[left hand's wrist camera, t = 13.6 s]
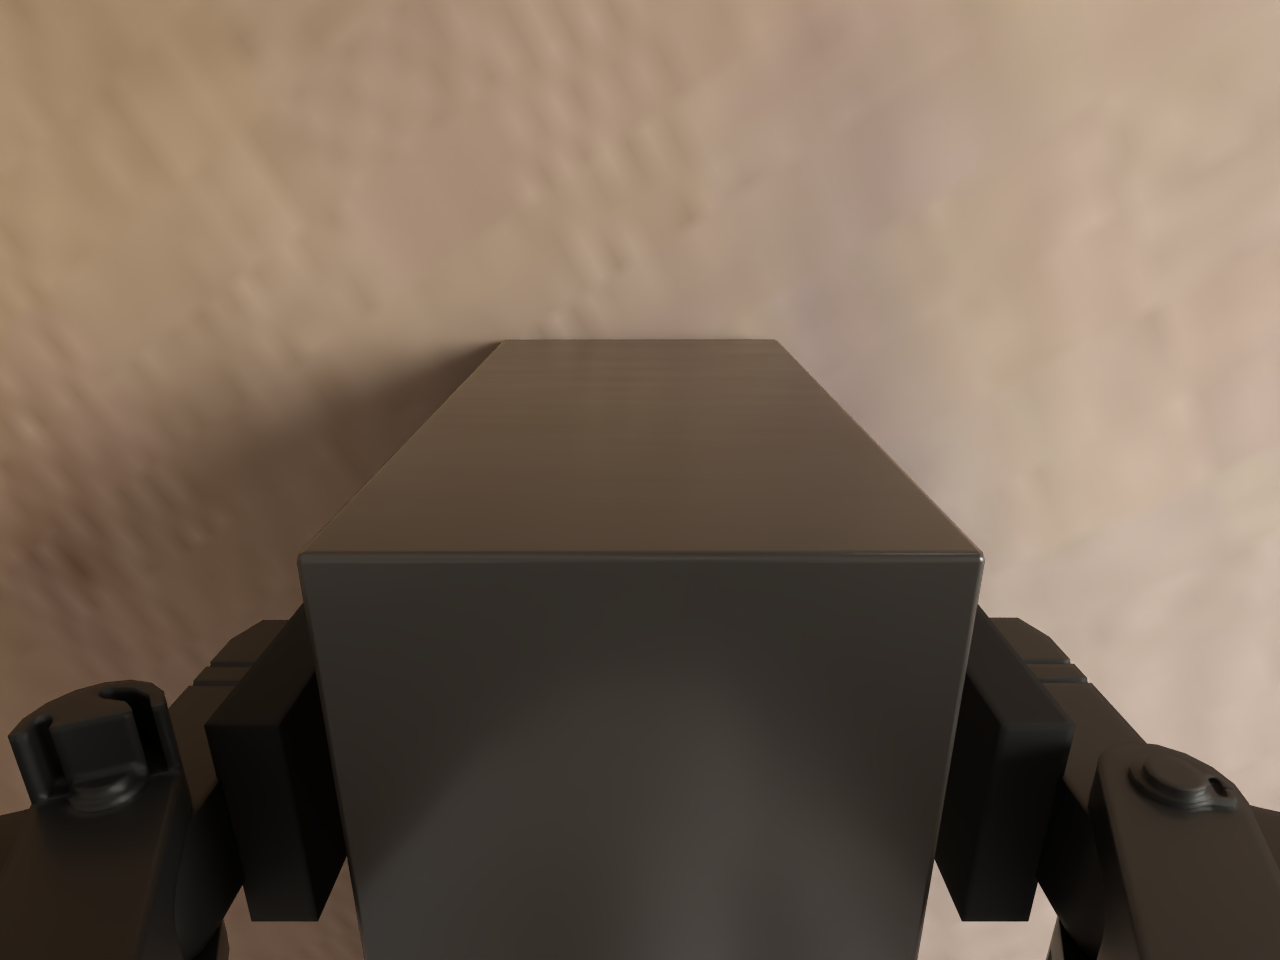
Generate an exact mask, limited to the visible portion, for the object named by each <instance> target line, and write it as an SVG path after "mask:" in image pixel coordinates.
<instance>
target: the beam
mask: <svg viewBox="0 0 1280 960" xmlns="http://www.w3.org/2000/svg"><path fill="white" fill-rule="evenodd" d="M297 566H298V572H299V578H300V583H301V589H302V595H303V601H304V607H305V613H306V619H307V624H308V630H309V636H310V642H311V648H312V654H313V660H314V666H315V671H316V677H317V683H318V689H319V695H320V701H321V707H322V712H323V718H324V724H325V730H326V736H327V742H328V748H329V754H330V759H331V765H332V771H333V777H334V783H335V789H336V795H337V800H338V806H339V812H340V818H341V824H342V830H343V836H344V842H345V847H346V853H347V859H348V865H349V871H350V877H351V883H352V888H353V894H354V900H355V906H356V912H357V918H358V924H359V930H360V935H361V941H362V947H363V953H364V959H365V960H917V958H918V952H919V946H920V941H921V935H922V929H923V923H924V917H925V911H926V905H927V899H928V893H929V887H930V881H931V875H932V870H933V864H934V858H935V852H936V846H937V840H938V834H939V828H940V822H941V816H942V810H943V804H944V799H945V793H946V787H947V781H948V775H949V769H950V763H951V757H952V751H953V745H954V739H955V734H956V728H957V722H958V716H959V710H960V704H961V698H962V692H963V686H964V680H965V674H966V668H967V663H968V657H969V651H970V645H971V639H972V633H973V627H974V621H975V615H976V609H977V603H978V598H979V592H980V586H981V580H982V574H983V568H984V556H983V552H982V551H981V550H980V549H979V548H978V547H977V546H976V545H975V544H974V543H973V542H972V541H971V540H970V539H969V538H968V537H967V536H966V535H965V534H964V533H963V532H962V531H961V530H960V529H959V528H958V527H957V526H956V524H955V523H954V522H953V521H952V520H951V519H950V518H949V517H948V516H947V515H946V514H945V513H944V512H943V511H942V510H941V509H940V508H939V507H938V506H937V505H936V504H935V503H934V502H933V501H932V500H931V499H930V498H929V497H928V496H927V495H926V494H925V493H924V492H923V490H922V489H921V488H920V487H919V486H918V485H917V484H916V483H915V482H914V481H913V480H912V479H911V478H910V477H909V476H908V475H907V474H906V473H905V472H904V471H903V470H902V469H901V468H900V467H899V466H898V465H897V464H896V463H895V462H894V461H893V460H892V459H891V458H890V456H889V455H888V454H887V453H886V452H885V451H884V450H883V449H882V448H881V447H880V446H879V445H878V444H877V443H876V442H875V441H874V440H873V439H872V438H871V437H870V436H869V435H868V434H867V433H866V432H865V431H864V430H863V429H862V428H861V427H860V426H859V425H858V424H857V423H856V421H855V420H854V419H853V418H852V417H851V416H850V415H849V414H848V413H847V412H846V411H845V410H844V409H843V408H842V407H841V406H840V405H839V404H838V403H837V402H836V401H835V400H834V399H833V398H832V397H831V396H830V395H829V394H828V393H827V392H826V391H825V390H824V389H823V387H822V386H821V385H820V384H819V383H818V382H817V381H816V380H815V379H814V378H813V377H812V376H811V375H810V374H809V373H808V372H807V371H806V370H805V369H804V368H803V367H802V366H801V365H800V364H799V363H798V362H797V361H796V360H795V359H794V358H793V357H792V356H791V355H790V353H789V352H788V351H787V350H786V349H785V348H784V347H783V346H782V345H781V344H780V343H779V342H778V341H776V340H504V341H502V342H501V343H500V344H499V345H498V347H497V348H496V349H495V350H494V351H493V352H492V353H491V354H490V355H489V356H488V357H487V358H486V359H485V360H484V361H483V362H482V363H481V364H480V365H479V366H478V367H477V368H476V369H475V370H474V371H473V373H472V374H471V375H470V376H469V377H468V378H467V379H466V380H465V381H464V382H463V383H462V384H461V385H460V386H459V387H458V388H457V389H456V390H455V391H454V392H453V393H452V394H451V395H450V396H449V398H448V399H447V400H446V401H445V402H444V403H443V404H442V405H441V406H440V407H439V408H438V409H437V410H436V411H435V412H434V413H433V414H432V415H431V416H430V417H429V418H428V419H427V420H426V421H425V422H424V424H423V425H422V426H421V427H420V428H419V429H418V430H417V431H416V432H415V433H414V434H413V435H412V436H411V437H410V438H409V439H408V440H407V441H406V442H405V443H404V444H403V445H402V446H401V447H400V448H399V450H398V451H397V452H396V453H395V454H394V455H393V456H392V457H391V458H390V459H389V460H388V461H387V462H386V463H385V464H384V465H383V466H382V467H381V468H380V469H379V470H378V471H377V472H376V473H375V474H374V476H373V477H372V478H371V479H370V480H369V481H368V482H367V483H366V484H365V485H364V486H363V487H362V488H361V489H360V490H359V491H358V492H357V493H356V494H355V495H354V496H353V497H352V498H351V499H350V501H349V502H348V503H347V504H346V505H345V506H344V507H343V508H342V509H341V510H340V511H339V512H338V513H337V514H336V515H335V516H334V517H333V518H332V519H331V520H330V521H329V522H328V523H327V524H326V525H325V527H324V528H323V529H322V530H321V531H320V532H319V533H318V534H317V535H316V536H315V537H314V538H313V539H312V540H311V541H310V542H309V543H308V544H307V545H306V546H305V547H304V548H303V549H302V550H301V551H300V553H299V554H298V558H297Z"/></svg>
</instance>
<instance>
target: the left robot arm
mask: <svg viewBox="0 0 1280 960" xmlns="http://www.w3.org/2000/svg"><path fill="white" fill-rule="evenodd" d="M8 738H9V741H10V744H11V747H12V750H13V752H14V755H15V758H16V761H17V764H18V766H19V769H20V772H21V775H22V778H23V780H24V783H25V786H26V789H27V792H28V794H29V797H30V800H31V803H32V804H31V807H30V809H27V810H23V811H19V812H14V813H10V814H5V815H0V960H228V958H229V943H228V937H227V931H226V928H225V924H224V920H223V918H224V916H225V914H226V913H227V911H228V909H229V907H230V906H231V904H232V902H233V900H234V899H235V897H236V895H237V893H238V892H239V890H240V888H241V886H242V885H243V888H244V892H245V896H246V900H247V904H248V908H249V912H250V916H251V920H252V921H318V920H319V918H320V916H321V913H322V911H323V909H324V907H325V904H326V902H327V900H328V897H329V895H330V893H331V891H332V888H333V886H334V884H335V881H336V879H337V877H338V875H339V872H340V870H341V868H342V866H343V863H344V861H345V859H346V856H347V853H346V847H345V842H344V836H343V830H342V824H341V818H340V812H339V806H338V800H337V795H336V789H335V783H334V777H333V771H332V765H331V759H330V754H329V748H328V742H327V736H326V730H325V724H324V718H323V712H322V707H321V701H320V695H319V689H318V683H317V677H316V671H315V666H314V660H313V654H312V648H311V642H310V636H309V630H308V624H307V619H306V613H305V607H304V602H303V604H302V605H301V606H300V607H299V609H298V610H297V611H296V612H295V614H294V615H293V616H292V617H291V618H290V620H262V621H261V622H259V623H257V624H256V625H254V626H252V627H251V628H249V629H247V630H246V631H244V632H243V633H241V634H239V635H238V636H236V637H234V638H233V639H231V640H230V641H229V642H228V643H227V645H226V646H225V647H224V648H223V649H222V650H221V651H220V652H219V653H218V654H217V656H216V657H215V658H214V659H213V660H212V661H211V665H210V667H206V668H205V669H204V670H203V671H202V672H201V673H200V674H199V675H198V677H197V678H196V679H195V680H194V683H193V686H188V688H187V689H186V690H185V691H184V692H183V693H182V694H181V695H180V696H179V698H178V699H177V700H176V701H175V702H174V703H173V704H172V705H171V706H170V707H169V709H168V706H167V702H166V699H165V695H164V691H162V690H161V689H160V688H158V687H157V686H155V685H154V684H152V683H149V682H142V681H135V680H125V681H114V682H104V683H101V684H97V685H93V686H90V687H86V688H82V689H79V690H75V691H73V692H71V693H68V694H66V695H64V696H62V697H59V698H57V699H55V700H53V701H50V702H48V703H46V704H45V705H43V706H42V707H40V708H39V709H37V710H36V711H34V712H33V713H31V714H30V715H28V716H27V717H25V718H24V719H22V720H21V722H20V723H19V724H18V725H17V726H16V727H15V728H14V730H13V731H12V732H11V733H10V734H9V735H8ZM934 859H935V861H936V863H937V866H938V868H939V870H940V872H941V875H942V877H943V879H944V881H945V884H946V886H947V888H948V891H949V893H950V895H951V897H952V900H953V902H954V904H955V907H956V909H957V911H958V913H959V916H960V918H961V920H962V921H1028V920H1029V916H1030V912H1031V908H1032V904H1033V900H1034V896H1035V892H1036V888H1037V884H1038V883H1039V884H1040V886H1041V888H1042V889H1043V891H1044V893H1045V895H1046V896H1047V898H1048V900H1049V902H1050V903H1051V905H1052V907H1053V909H1054V910H1055V912H1056V914H1057V920H1056V924H1055V928H1054V931H1053V935H1052V939H1051V943H1050V947H1049V950H1048V954H1047V958H1046V960H1280V812H1277V811H1272V810H1268V809H1263V808H1258V807H1255V806H1251V805H1249V803H1248V802H1247V800H1246V799H1245V798H1244V796H1243V795H1242V794H1241V792H1240V791H1239V790H1238V788H1237V787H1236V785H1235V784H1233V783H1232V782H1231V781H1230V780H1228V779H1227V778H1226V777H1224V776H1223V775H1222V774H1221V773H1219V772H1218V771H1217V770H1215V769H1214V768H1213V767H1211V766H1209V765H1207V764H1205V763H1203V762H1201V761H1199V760H1197V759H1195V758H1193V757H1191V756H1189V755H1187V754H1185V753H1182V752H1179V751H1176V750H1173V749H1169V748H1166V747H1163V746H1160V745H1155V744H1147V743H1146V742H1145V741H1144V740H1143V739H1142V738H1141V737H1140V736H1139V735H1138V733H1137V732H1136V731H1135V730H1134V729H1133V728H1132V727H1131V726H1130V725H1129V724H1128V722H1127V721H1126V720H1125V719H1124V718H1123V717H1122V716H1121V715H1120V714H1119V713H1118V712H1117V710H1116V709H1115V708H1114V707H1113V706H1112V705H1111V704H1110V703H1109V702H1108V701H1107V699H1106V698H1105V697H1104V696H1103V695H1102V694H1101V693H1100V692H1099V691H1098V690H1097V688H1096V687H1095V686H1094V685H1093V684H1092V683H1088V682H1087V678H1086V676H1085V675H1084V674H1083V673H1082V672H1081V671H1080V670H1079V669H1078V668H1077V667H1076V665H1075V664H1070V659H1069V658H1068V657H1067V656H1066V655H1065V653H1064V652H1063V651H1062V650H1061V649H1060V648H1059V647H1058V646H1057V645H1056V644H1055V642H1054V641H1053V640H1052V639H1051V638H1050V637H1049V636H1047V635H1045V634H1044V633H1042V632H1040V631H1039V630H1037V629H1036V628H1034V627H1032V626H1031V625H1029V624H1027V623H1026V622H1024V621H1022V620H1021V619H1019V618H989V617H988V616H987V615H986V614H985V612H984V611H983V610H982V609H981V607H980V606H979V605H978V604H977V609H976V615H975V621H974V627H973V633H972V639H971V645H970V651H969V657H968V663H967V668H966V674H965V680H964V686H963V692H962V698H961V704H960V710H959V716H958V722H957V728H956V734H955V739H954V745H953V751H952V757H951V763H950V769H949V775H948V781H947V787H946V793H945V799H944V804H943V810H942V816H941V822H940V828H939V834H938V840H937V846H936V852H935V858H934Z"/></svg>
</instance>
